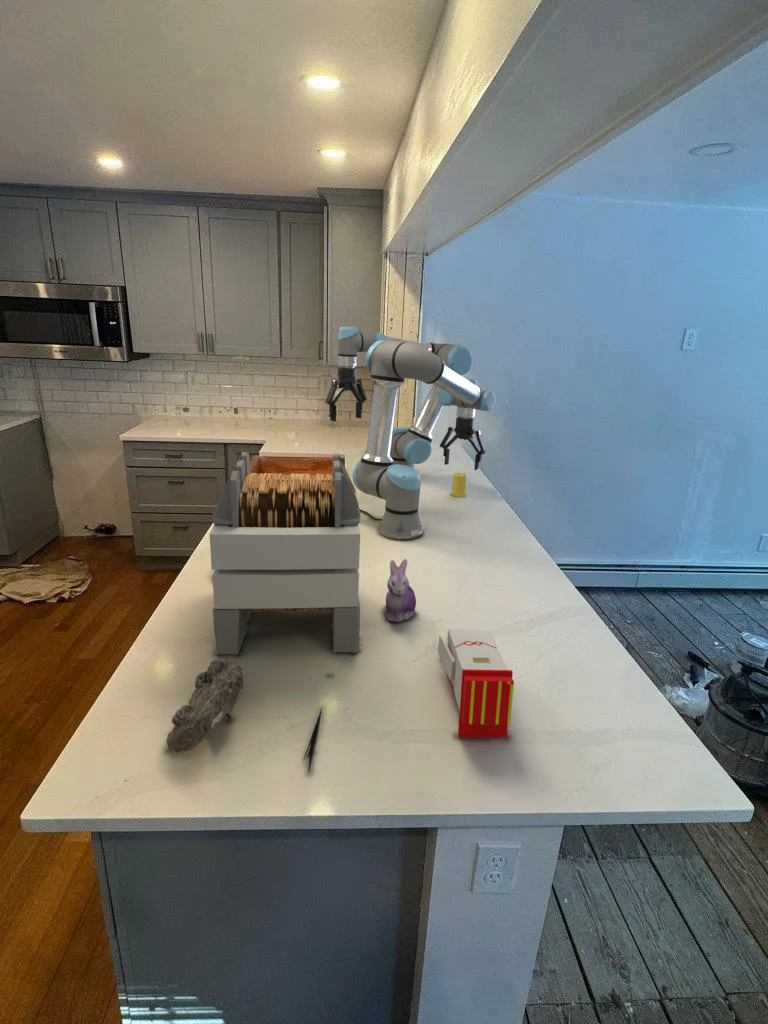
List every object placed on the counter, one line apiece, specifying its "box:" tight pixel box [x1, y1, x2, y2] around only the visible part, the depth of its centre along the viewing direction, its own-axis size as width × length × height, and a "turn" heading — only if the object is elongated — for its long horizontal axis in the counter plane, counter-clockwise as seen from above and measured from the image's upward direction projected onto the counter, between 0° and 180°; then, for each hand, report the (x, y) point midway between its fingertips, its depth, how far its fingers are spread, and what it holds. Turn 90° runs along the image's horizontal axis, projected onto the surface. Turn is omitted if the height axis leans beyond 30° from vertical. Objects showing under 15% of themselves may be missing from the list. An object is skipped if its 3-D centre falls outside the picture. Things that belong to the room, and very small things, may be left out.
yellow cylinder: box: [451, 472, 468, 498], centre depth 243 cm, size 5×5×9 cm
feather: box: [301, 673, 332, 771], centre depth 108 cm, size 2×28×2 cm
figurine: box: [384, 558, 417, 623], centre depth 145 cm, size 9×10×15 cm
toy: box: [437, 628, 515, 738], centre depth 117 cm, size 12×13×30 cm
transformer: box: [209, 451, 362, 656], centre depth 137 cm, size 34×33×41 cm
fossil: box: [166, 658, 245, 754], centre depth 106 cm, size 22×10×15 cm
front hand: (461, 466), depth 241 cm, fingers open, 13 cm apart
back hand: (346, 419), depth 236 cm, fingers open, 13 cm apart
